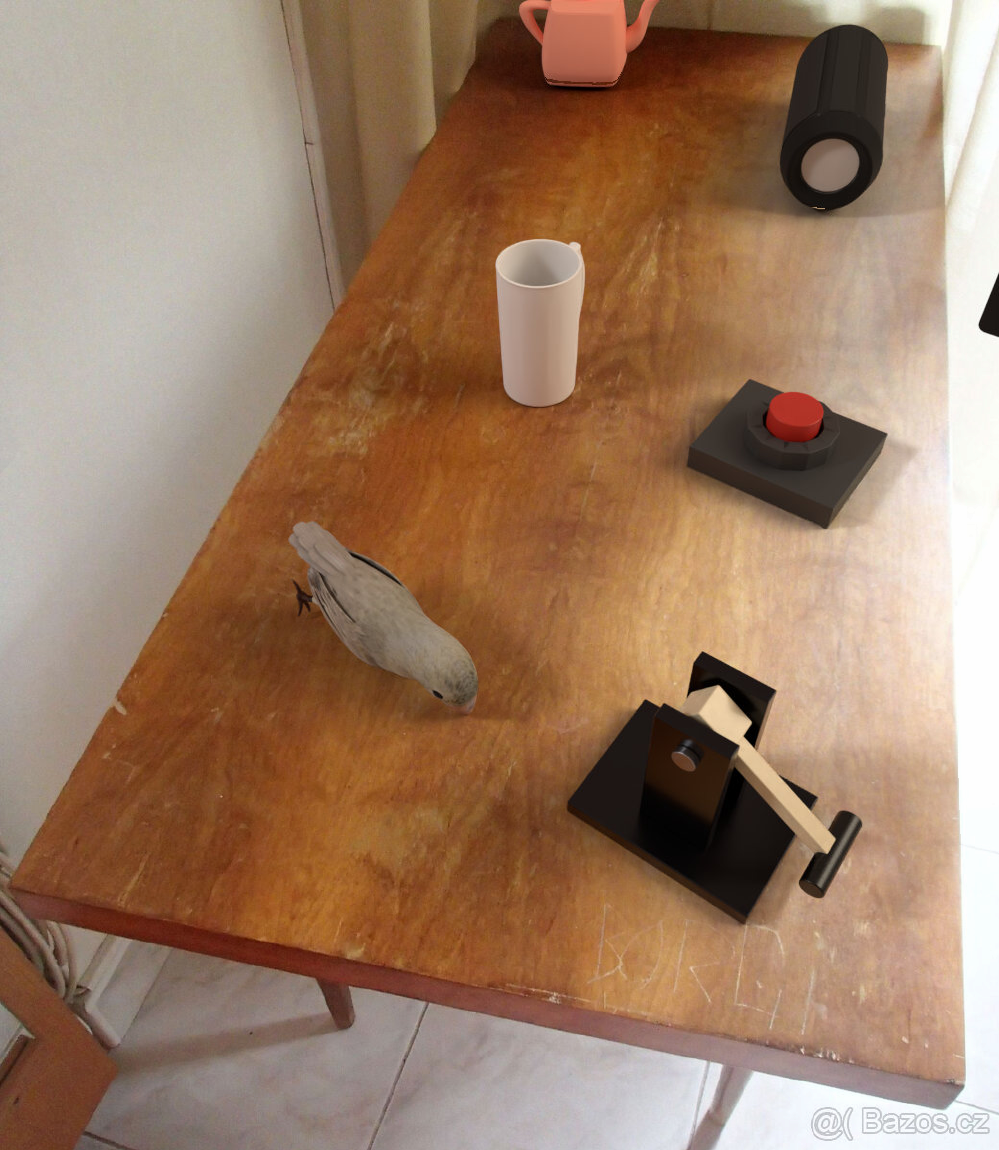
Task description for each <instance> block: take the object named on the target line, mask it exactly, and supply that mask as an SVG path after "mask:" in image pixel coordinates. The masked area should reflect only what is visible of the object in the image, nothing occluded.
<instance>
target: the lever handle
mask: <svg viewBox="0 0 999 1150" xmlns="http://www.w3.org/2000/svg"><path fill="white" fill-rule="evenodd" d="M677 710H678V711H680V712H681V713H683V714H685V715H687V716H689V717H690V718H692V719H694V720H696V721H697V722H699V723H701V724H703V725H704V726H706V727H708V728H710V729H712V730H713V731H715V732H717V733H719V734H720V735H722V736H724V737H726V738H727V739H729V740H731V741H733V742H735V743H736V744H738V745H739V746H740V748H739V751H738V755H737V758H736V762H735V765H734V766H735V768H736V769H737V770H738V771H739V772H740V773H741V774H742V775H743V776H744V778H745V779H746V780H747V781H748V782H749V783H750V784H751V785H752V786H753V787H754V789H755V790H756V791H757V792H758V793H759V794H760V795H761V796H762V797H763V798H764V800H765V801H766V802H767V803H768V804H769V805H770V806H771V807H772V808H773V809H774V811H775V812H776V813H777V814H778V815H779V816H780V817H781V818H782V819H783V821H784V822H785V823H786V824H787V825H788V826H789V827H790V828H791V829H792V830H793V832H794V833H795V834H796V835H797V838H799V840H800V841H802V843H803V844H804V845H805V847H807V848H808V849H809V851H811V853H812V854H813V855H812V857H811V859H810V860H809V862H808V864H807V866H805V869H804V871H803V872H802V874H801V876H800V878H799V880H798V887H799V888H800V889H801V890H802V892H804V893H805V894H806V895H808V896H810V897H812V898H814V899H823V898H824V897H825V896H826V894H827V892H828V890H829V888H830V887H831V885H832V883H833V881H834V879H835V877H836V875H837V874H838V872H839V871H840V869H841V866H842V865H843V863H844V861H845V859H846V858H847V856H848V854H849V852H850V850H851V848H852V847H853V845H854V843H855V841H856V839H857V837H858V835H859V833H860V832H861V830H862V828H863V821H862V819H861V818H860V817H859V816H858V815H857V814H855V813H853V812H852V811H850V810H846V809H841V810H839V811H838V812H837V813H836V814H835V816H834V818H833V820H832V821H831V824H830V825H829V826H828V828H826V826H825V825H824V824H823V823H822V822H821V821H820V820H819V818H817V816H816V815H815V814H814V813H813V811H812V812H811V811H810V810H809V809H808V808H807V807H806V805H805V804H804V803H803V802H802V801H801V800H800V799H799V798H798V797H797V795H796V794H795V793H794V792H793V791H792V790H791V789H790V788H789V787H788V785H787V784H786V783H785V782H784V781H783V780H782V779H781V778H780V777H779V775H780V774H779V775H778V772H776V771H775V770H774V769H773V767H772V766H771V765H770V764H769V763H768V762H767V760H765V759H764V757H763V756H762V755H761V754H760V753H759V752H758V750H757V751H756V750H755V749H754V748H753V747H752V745H751V744H750V743H749V742H748V741H747V740H746V739H745V738H744V737H743V736H744V734H745V733H746V731H747V730H748V728H749V727H750V725H751V724H752V722H751V720H750V719H749V718H748V717H747V716H746V715H745V714H744V713H743V711H742V710H741V709H740V708H739V707H738V706H737V705H736V704H735V703H734V701H733V700H732V699H731V698H730V697H729V696H728V695H727V694H726V693H725V691H724V690H723V689H722V688H721V687H720V686H719V685H716V686H713V687H709V688H705V689H702V690H698V691H694V692H691V693H690V695H689V696H688V698H687V699H686V698H685V700H684V701H683V703H682V704H681V706H680V707H679V708H678V709H677Z"/></svg>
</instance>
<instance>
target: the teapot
mask: <svg viewBox="0 0 999 1150" xmlns="http://www.w3.org/2000/svg"><path fill="white" fill-rule="evenodd" d="M624 1H625V0H525V1H523V2H521V3H520V5H519V7H518V8H519V9H518V11H519V16H520V19H521V21H522V22H523V24H524V26H525V27H526V29H527V30H528V31H529V32H530V33H531V35H532V36H533V37H534V38H535V40H536V41H537V42H538V43H539V44H540V45H541V47H542V48H541V66H542V72H543V75H544V78H545V77H546V78H547V79H553V80H558V81H571V82H593V83H596V82H613V81H615V80H617V79H618V77H619V76H620V77H621V75H622V73H621V72H623V71H624V66H625V64H626V63H627V58H628V54H629V53H631V52H632V51H634V50H635V49H636V48H638V47H639V46H640V44H641V43H642V42H643V40H644V37H645V35H646V32H647V29H648V26H649V22H650V18H651V15H652V12H653V11H654V8H655V7H656V5H657V4H658V3H659V2H660V1H661V0H644V1H643V2H642V5H641V7H640V10H639V14H638V16H637V18H636V20H635V21H634V23H632V24H631V25H629V26H628V23H627V15H626V8H625V2H624ZM535 10H543V11H547V15H546V19H545V23H544V29H543V32H542V30H541V29H540V27H539V25H538V23H537V21H536V19H535V16H534V11H535ZM620 74H621V75H620ZM620 77H619V78H620ZM546 78H545V81H546V82H547V84H549V85H550V86H559V87H579V88H580V87H581V88H609V87H613V86H615V85H616V84H617V83H618V81H619V79H618V80H617V81H616V82H615V83H613V84H607V85H592V84H564V83H552V82H548V81H547V80H546Z"/></svg>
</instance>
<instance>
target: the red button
mask: <svg viewBox="0 0 999 1150" xmlns="http://www.w3.org/2000/svg"><path fill="white" fill-rule="evenodd" d="M819 401H820V400H818V399H817V398H815V397H814V396H812V395H809V394H808V393H804V392H800V391H787V392H784V393H782V394H779V395H777V396H776V397H774V398H773V399H772V401H771V402H770V406H769V410H768V415H767V419H766V427H767V429H768V431H769V432H770V433H771V434H772V435H773V436H774V437H776V438H779V439H781V440H784V441H786V442H801V443H803V442H807V441H809V440H811V439H813V438H814V437H815V436H816V435H817V434H818V431H819V428H820V425H821V421H822V417H823V413H824V412H823V407H822V405H821V404H820V402H819Z"/></svg>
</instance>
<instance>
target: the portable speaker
mask: <svg viewBox="0 0 999 1150" xmlns="http://www.w3.org/2000/svg"><path fill="white" fill-rule="evenodd" d="M888 71H889V58H888V52H887V49H886V46H885V44H884V43H883V41H882V40H881V39H880V37H879V36H877V34H875V33H874V32H873V31H871V30H870V29H868V28H866V27H864V26H860V25H857V24H851V23H850V24H840V25H837V26H833V27H831V28H828V29H826V30H824V31H823V32H822V33H819V34H818V35H817V36H815V37H814V38H813V39H812V40H811V41H810V42H809V44H807V46H806V47H805V48H804V50H803V52H802V54H801V55H800V57H799V59H798V62H797V64H796V69H795V75H794V79H793V80H794V81H793V85H792V90H791V96H790V101H789V106H788V110H787V117H786V121H785V127H784V132H783V138H782V142H781V148H780V152H779V170H780V174H781V178H782V180H783V182H784V183H783V184H784V185H785V186H786V188H787V189H788V190H789V191H790V193H791V194H792V196H793V197H794V198H795V199H796V200H797V201H798V202H799V203H801V204H802V205H804V206H806V207H808V208H810V207H817V208H825V209H828V210H827V211H832V210H837V209H840V208H844V207H846V206H848V205H850V204H852V203H853V202H855V201H856V200H858V199H859V197H861V196H862V195H863V194H864V193H865V192H866V191H867V190H868V189H869V188H870V187H871V186H872V184H873V183H874V182H875V180H876V179H877V177H878V175H879V173H880V171H881V168H882V165H883V160H884V137H885V136H884V135H885V119H886V111H887V110H886V109H887V103H886V101H887V85H888V81H887V80H888Z"/></svg>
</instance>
